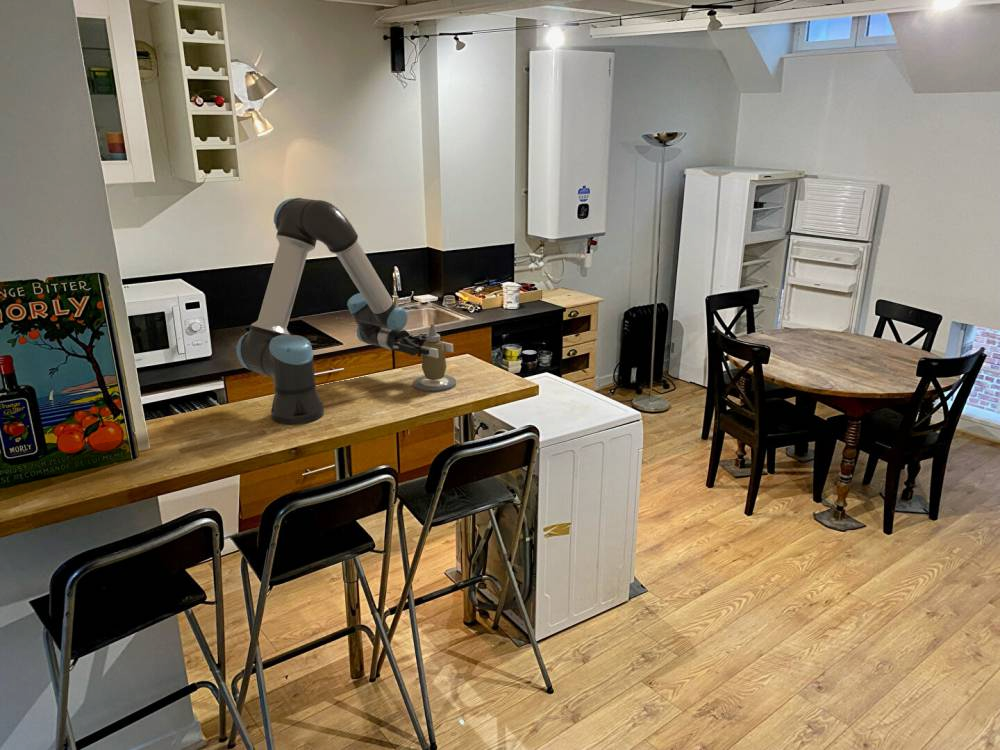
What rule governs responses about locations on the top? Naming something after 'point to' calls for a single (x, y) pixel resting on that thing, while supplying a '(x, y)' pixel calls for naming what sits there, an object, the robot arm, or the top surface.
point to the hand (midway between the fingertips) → (445, 350)
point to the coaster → (434, 384)
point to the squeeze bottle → (432, 365)
